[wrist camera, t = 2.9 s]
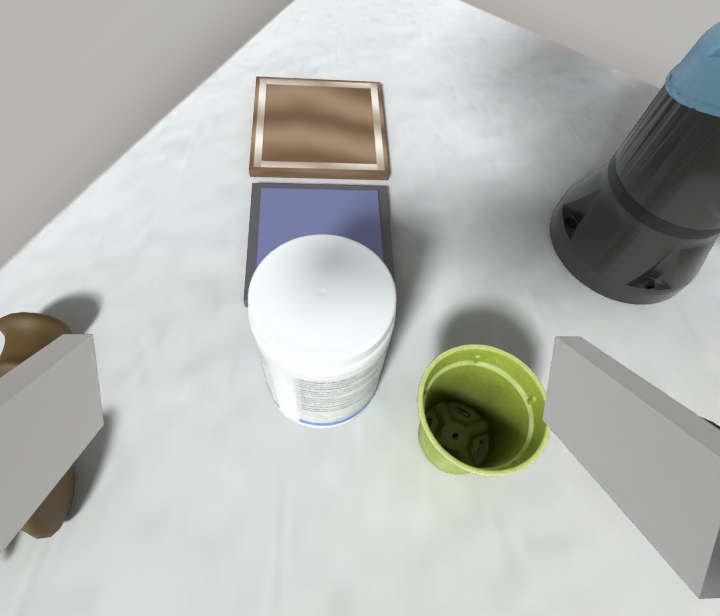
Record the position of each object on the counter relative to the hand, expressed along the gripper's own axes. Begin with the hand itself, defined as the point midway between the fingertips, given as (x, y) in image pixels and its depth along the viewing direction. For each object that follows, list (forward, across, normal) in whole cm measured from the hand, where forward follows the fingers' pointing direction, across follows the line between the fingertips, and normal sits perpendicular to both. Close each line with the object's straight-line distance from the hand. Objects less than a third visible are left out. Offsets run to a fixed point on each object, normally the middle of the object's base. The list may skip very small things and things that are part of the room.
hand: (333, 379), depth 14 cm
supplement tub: (+27, 0, -12) cm, 30 cm away
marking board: (+48, 0, +9) cm, 49 cm away
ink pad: (+37, 0, -2) cm, 37 cm away
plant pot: (+23, +11, -16) cm, 30 cm away
